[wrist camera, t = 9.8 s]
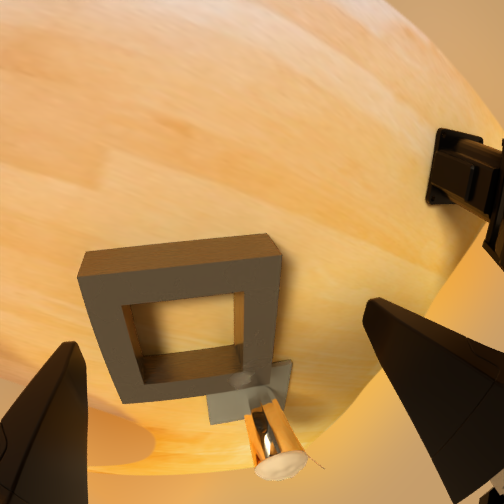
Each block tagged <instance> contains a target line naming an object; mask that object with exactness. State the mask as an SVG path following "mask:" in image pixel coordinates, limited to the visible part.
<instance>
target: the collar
mask: <svg viewBox="0 0 504 504" xmlns="http://www.w3.org/2000/svg"><path fill="white" fill-rule="evenodd" d="M281 262H282V254H281V253H280V251H279V250H278V248H277V247H276V246H275V244H274V243H273V241H272V240H271V239H270V237H269V236H268V234H267V233H266V234H255V235H244V236H234V237H223V238H213V239H203V240H193V241H183V242H173V243H163V244H154V245H144V246H135V247H125V248H116V249H107V250H98V251H89V252H86V253H85V255H84V258H83V261H82V264H81V267H80V269H79V272H78V275H77V279H78V283H79V286H80V290H81V293H82V296H83V300H84V303H85V306H86V309H87V312H88V315H89V319H90V322H91V325H92V327H93V330H94V333H95V336H96V339H97V342H98V344H99V347H100V350H101V352H102V355H103V358H104V360H105V363H106V365H107V368H108V370H109V373H110V375H111V378H112V380H113V383H114V385H115V387H116V390H117V392H118V394H119V396H120V399H121V401H122V403H123V404H130V403H143V402H154V401H164V400H173V399H181V398H189V397H196V396H204V395H210V394H217V393H223V392H229V391H235V390H241V389H246V388H251V387H257V386H262V385H267V384H270V377H271V368H272V358H273V348H274V338H275V328H276V318H277V307H278V296H279V285H280V274H281ZM227 293H234V345H230V346H223V347H216V348H209V349H202V350H194V351H186V352H178V353H170V354H161V355H151V356H143V354H142V351H141V347H140V343H139V340H138V336H137V332H136V328H135V324H134V320H133V316H132V312H131V307H130V304H140V303H150V302H159V301H168V300H177V299H186V298H194V297H203V296H211V295H219V294H227Z"/></svg>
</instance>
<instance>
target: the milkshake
mask: <svg viewBox="0 0 504 504" xmlns="http://www.w3.org/2000/svg"><path fill="white" fill-rule="evenodd" d="M240 402H241V406H242V411H243V415H244V419H245V424H246V428H247V432H248V437H249V442H250V449H251V454H252V459H253V464H254V469H255V473H256V474H257V475H258V476H259V477H261V478H263V479H265V480H276V481H281V480H284V479H287V478H292V477H294V476H295V475H296V474H297V473H298V472H299V471H300V470H301V469H303V468H304V466H305V465H306V463H307V460H308V457H309V456H308V455H307V454H306V452H305V450H304V449H303V447H302V445H301V443H300V442H299V440H298V438H297V437H296V435H295V433H294V431H293V430H292V428H291V426H290V424H289V422H288V420H287V418H286V417H285V415H284V413H283V411H282V409H281V407H280V405H279V403H278V401H277V399H276V397H275V395H274V394H273V392H272V390H271V389H270V388H268V387H266V386H258V387H253V388H251V389H248V390H246V391H245V392H244V393H243V394H242V395H241V397H240ZM309 458H310V457H309ZM312 460H313V459H312ZM313 461H314V460H313ZM314 462H315V461H314ZM318 465H319V464H318ZM320 466H321V465H320ZM321 467H322V466H321ZM322 468H323V467H322ZM323 469H324V468H323Z"/></svg>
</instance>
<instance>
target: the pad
mask: <svg viewBox="0 0 504 504" xmlns="http://www.w3.org/2000/svg"><path fill="white" fill-rule="evenodd" d="M291 368H292V362H291V360H286V361H282V362H277V363H272V368H271V377H270V384H267V385H262V386H266V387H268V388H270V389H271V390H272V392H273V394H274V395H275V397H276V399H277V401H278V403H279V405H280V407H281V409H282V411H284V407H285V402H286V396H287V391H288V385H289V380H290V374H291ZM257 387H258V386H257ZM251 388H253V387H251ZM251 388H246V389H241V390H235V391H229V392H223V393H217V394H210V395H206V397H207V405H208V412H209V419H210V424H211V425H214V424H221V423H227V422H232V421H238V420H243V419H244V415H243V411H242V406H241V402H240V397H241V395H242V394H243V393H244V392H245V391H246V390H248V389H251Z"/></svg>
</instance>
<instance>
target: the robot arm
mask: <svg viewBox="0 0 504 504" xmlns="http://www.w3.org/2000/svg"><path fill="white" fill-rule="evenodd" d="M442 133H443V135H442ZM502 146H503V148H502V151H499V150H497V149H494V148H492V147H489V146H486V145H484V144H483V139H482V138H481V137H479V136H475V135H471V134H467V133H463V132H459V131H454V130H450V129H445V128H439V129H438V131H437V135H436V143H435V149H434V156H433V162H432V168H431V174H430V179H429V185H428V190H427V195H426V201H427V202H428V203H429V204H458V205H460V206H461V207H463V208H465V209H467V210H468V211H470V212H472V213H474V214H475V215H477V216H479V217H480V218H482V219H484V220H485V221H487V222H489V226H488V230H487V234H486V238H485V240H484V242H483V246H482V247H483V248H484V249H485V250H486V251H487V252H488V254H489V255H490V256H491V257H492V258H493V259H494V261H495V262H496V263H497V264H498V265H499V266H500V267H501V269H502V270H503V271H504V139H502ZM362 322H363V326H364V329H365V331H366V333H367V335H368V337H369V340H370V342H371V344H372V346H373V349H374V351H375V353H376V356H377V358H378V360H379V362H380V364H381V366H382V368H383V369H384V371H385V373H386V375H387V376H388V378H389V380H390V382H391V384H392V385H393V387H394V389H395V391H396V393H397V395H398V396H399V398H400V400H401V402H402V403H403V405H404V407H405V409H406V411H407V413H408V415H409V416H410V418H411V420H412V422H413V424H414V426H415V428H416V430H417V432H418V434H419V435H420V438H421V439H422V441H423V443H424V445H425V447H426V449H427V451H428V453H429V455H430V457H431V458H432V461H433V463H434V465H435V467H436V469H437V471H438V473H439V475H440V477H441V479H442V481H443V484H444V486H445V488H446V490H447V492H448V494H449V496H450V498H451V500H452V502H453V504H457V503H459V502H460V501H462V500H463V499H465V498H466V497H468V496H469V495H470V494H472V493H473V492H474V491H476V490H477V489H479V488H480V487H481V486H483V485H484V484H485V483H486V482H488V481H489V480H490V481H491V483H492V484H493V486H494V487H492V488H491V489H490V490H489V491H488V492H487V493H486V494H484V495H483V496H482V497H481V498H480V500H479V504H504V353H503V352H500V351H497V350H495V349H492V348H490V347H487V346H485V345H483V344H481V343H478V342H476V341H474V340H472V339H470V338H466V337H465V336H463V335H461V334H459V333H457V332H455V331H452V330H450V329H448V328H446V327H444V326H442V325H439V324H437V323H435V322H433V321H431V320H428V319H426V318H424V317H422V316H420V315H418V314H415V313H413V312H411V311H409V310H407V309H404V308H402V307H400V306H398V305H396V304H393V303H391V302H389V301H387V300H385V299H382V298H380V297H378V298H373V299H370V300H368V302H367V304H366V308H365V312H364V315H363V320H362ZM87 432H88V401H87V374H86V363H85V360H84V358H83V355H82V353H81V351H80V348H79V346H78V344H77V343H76V342H75V341H70V342H63V343H62V344H61V345H60V346H59V347H58V348H57V350H56V351H55V352H54V353H53V354H52V356H51V357H50V358H49V359H48V360H47V362H46V363H45V364H44V365H43V367H42V368H41V369H40V370H39V371H38V373H37V374H36V375H35V376H34V378H33V379H32V380H31V381H30V383H29V384H28V385H27V387H26V388H25V389H24V390H23V392H22V393H21V394H20V396H19V397H18V398H17V399H16V401H15V402H14V404H13V405H12V406H11V407H10V409H9V410H8V411H7V413H6V414H5V416H4V417H3V418H2V420H1V422H0V504H88V490H87V489H88V488H87Z"/></svg>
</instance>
